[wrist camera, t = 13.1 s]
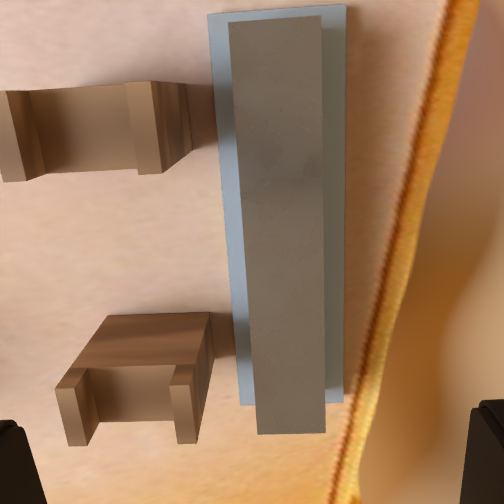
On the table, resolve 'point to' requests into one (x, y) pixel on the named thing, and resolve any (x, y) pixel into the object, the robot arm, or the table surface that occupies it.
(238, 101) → the rail
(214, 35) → the grey board
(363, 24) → the table surface
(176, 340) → the post far
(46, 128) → the post near
